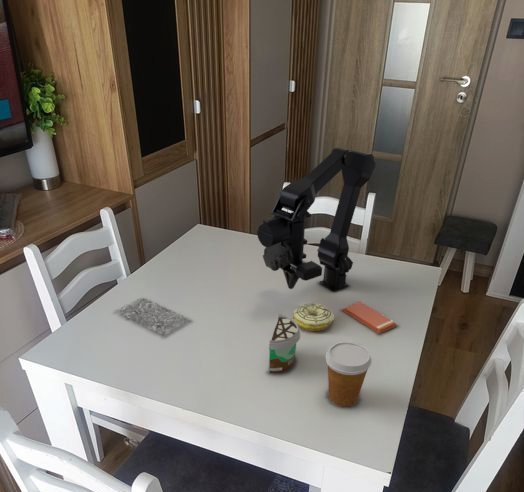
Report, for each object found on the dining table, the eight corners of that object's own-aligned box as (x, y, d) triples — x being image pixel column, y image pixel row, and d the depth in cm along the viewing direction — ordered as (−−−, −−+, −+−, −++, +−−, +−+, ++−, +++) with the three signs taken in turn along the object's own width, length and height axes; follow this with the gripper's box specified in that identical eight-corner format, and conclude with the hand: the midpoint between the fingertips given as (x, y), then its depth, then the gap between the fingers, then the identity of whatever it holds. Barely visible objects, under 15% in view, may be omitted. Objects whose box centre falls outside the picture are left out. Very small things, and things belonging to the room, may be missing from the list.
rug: (142, 298, 141) (141, 295, 141) (190, 321, 131) (190, 318, 131) (114, 312, 135) (114, 309, 134) (163, 337, 125) (163, 334, 124)
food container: (294, 380, 111) (296, 345, 106) (268, 377, 112) (269, 341, 107) (301, 349, 121) (304, 315, 116) (277, 346, 122) (278, 312, 117)
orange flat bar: (342, 311, 137) (343, 306, 136) (359, 304, 140) (359, 300, 139) (379, 334, 127) (379, 329, 126) (395, 326, 130) (396, 322, 130)
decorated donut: (340, 322, 132) (341, 310, 130) (316, 338, 125) (317, 326, 123) (310, 308, 138) (311, 296, 136) (285, 323, 131) (286, 311, 129)
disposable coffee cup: (317, 384, 110) (322, 341, 103) (358, 382, 111) (365, 339, 104) (325, 413, 102) (330, 368, 96) (370, 411, 103) (378, 366, 96)
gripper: (247, 231, 129) (248, 282, 138) (290, 256, 116) (288, 311, 125) (281, 222, 134) (279, 272, 143) (325, 245, 122) (321, 299, 131)
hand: (290, 288), depth 135 cm, fingers closed
